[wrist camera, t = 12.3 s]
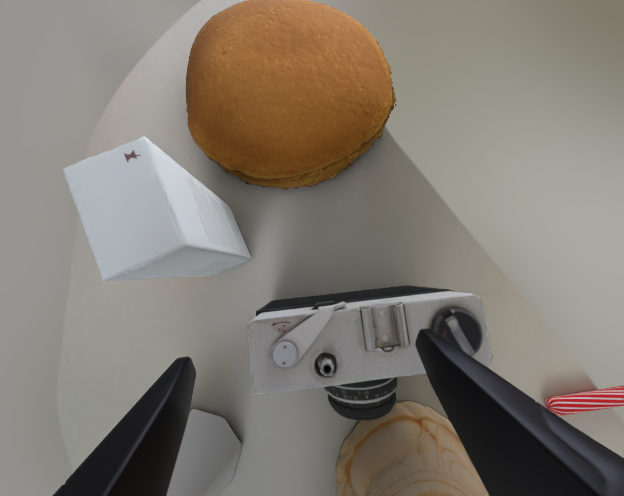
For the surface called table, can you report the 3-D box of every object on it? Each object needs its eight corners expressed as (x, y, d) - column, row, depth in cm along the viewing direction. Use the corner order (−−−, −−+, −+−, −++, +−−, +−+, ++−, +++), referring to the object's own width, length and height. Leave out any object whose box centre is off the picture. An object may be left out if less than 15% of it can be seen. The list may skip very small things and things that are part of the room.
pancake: (364, 8, 25) (378, -60, 20) (404, 170, 23) (431, 140, 18) (185, 35, 25) (152, -28, 20) (209, 204, 23) (179, 183, 17)
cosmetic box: (190, 222, 22) (57, 164, 10) (230, 206, 23) (144, 130, 11) (212, 278, 22) (98, 284, 10) (253, 260, 22) (189, 245, 10)
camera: (267, 382, 21) (232, 473, 11) (273, 282, 22) (245, 281, 12) (416, 384, 21) (516, 475, 11) (412, 285, 22) (496, 287, 12)
